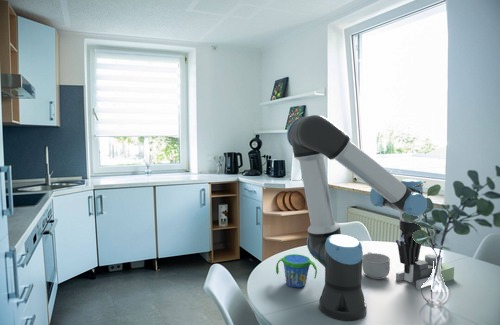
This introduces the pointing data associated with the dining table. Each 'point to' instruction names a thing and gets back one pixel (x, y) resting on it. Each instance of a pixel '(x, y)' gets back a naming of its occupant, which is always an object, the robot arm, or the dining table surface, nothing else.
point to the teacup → (376, 265)
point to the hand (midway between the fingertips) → (408, 280)
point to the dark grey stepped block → (421, 271)
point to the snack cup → (296, 269)
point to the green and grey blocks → (446, 269)
